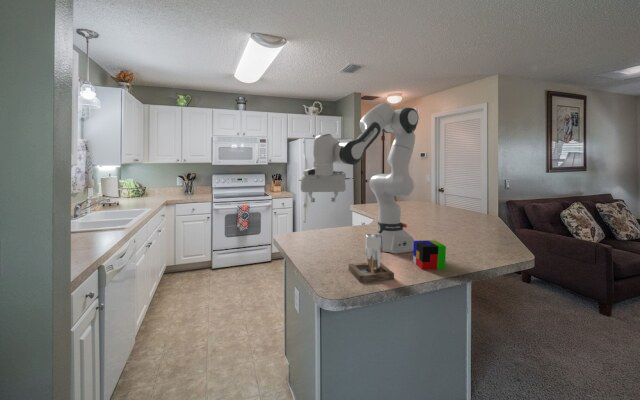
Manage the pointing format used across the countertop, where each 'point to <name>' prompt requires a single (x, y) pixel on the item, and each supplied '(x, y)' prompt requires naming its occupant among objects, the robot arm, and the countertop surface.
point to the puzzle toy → (429, 254)
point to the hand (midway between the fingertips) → (323, 201)
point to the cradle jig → (363, 276)
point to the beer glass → (373, 252)
